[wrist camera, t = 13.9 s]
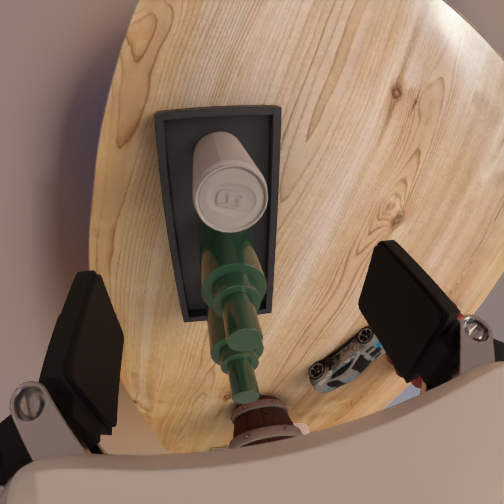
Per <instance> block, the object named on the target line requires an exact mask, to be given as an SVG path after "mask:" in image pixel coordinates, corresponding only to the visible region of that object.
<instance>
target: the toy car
mask: <svg viewBox="0 0 504 504" xmlns="http://www.w3.org/2000/svg"><path fill="white" fill-rule="evenodd" d="M368 332H371V333H370V334H369V333H368ZM365 333H366V334H365ZM364 334H365V335H364ZM362 337H364V338H363V339H362ZM383 354H385V350H384V349H383V347H382V345H381V344H380V342H379V340H378V339H377V337H376V335H375V334H374V332H373V330H371V329H370V328H364V329H362V330H361V331H360V332H359V334H358V338H356V337H355V338H354V339H352V341H351V343H350V344H348V345H347V346H346V347H344V348H343V349H342V350H340V351H339V352H338V353H336V354H335V355H334V356H332V357H331V358H327V359H326V360H324V362H325V365H324V364H322V363H320V362H318V363H315V364H313V365H312V366H311V368H310V371H309V374H310V375H309V379H310V382H311V384H312V385H313V386H314V389H315V390H316V391H318V392H321V393H328V392H330V391H332V390H334V389H336V388H338V387H340V386H342V385H344V384H347V383H349V382H351V381H353V380H354V379H356V378H357V377H358V376H359V375H360V374H361V373H362V372H363V371H365V370H366V368H367V367H368V366H369V365H370V364H371V363H372V362H373V361H375V360H376V359H377V358H378V357H379V356H381V355H383ZM320 366H322V368H320ZM317 368H318V369H317ZM316 369H317V370H316ZM315 371H316V373H315Z"/></svg>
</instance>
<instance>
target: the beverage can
mask: <svg viewBox="0 0 504 504" xmlns="http://www.w3.org/2000/svg"><path fill="white" fill-rule="evenodd" d="M193 202H194V207H195V209H196V211H197V213H198V215H199V217H200V218H201V220H202V221H203V222H204V223H205V224H206V225H208V226H209V227H211V228H213V229H214V230H218V231H221V232H230V233H232V232H238V231H242V230H244V229H247V228H249V227H251V226H252V225H253V224H255V223H256V222H257V221H258V220H259V219H260V218H261V216H262V215H263V213H264V211H265V209H266V207H267V202H268V190H267V184H266V182H265V179H264V177H263V175H262V174H261V172H260V171H259V169H258V168H257V166H256V165H255V163H254V162H253V160H252V159H251V158H250V156H249V155H248V153H247V152H246V150H245V149H244V147H243V146H242V145H241V143H240V142H239V140H238V139H237V138H236V137H235V136H233V135H232V134H230V133H227V132H214V133H210V134H207V135H205V136H204V137H202V138H201V139H200V140H199V141H198V143H197V144H196V146H195V149H194V155H193Z"/></svg>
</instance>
